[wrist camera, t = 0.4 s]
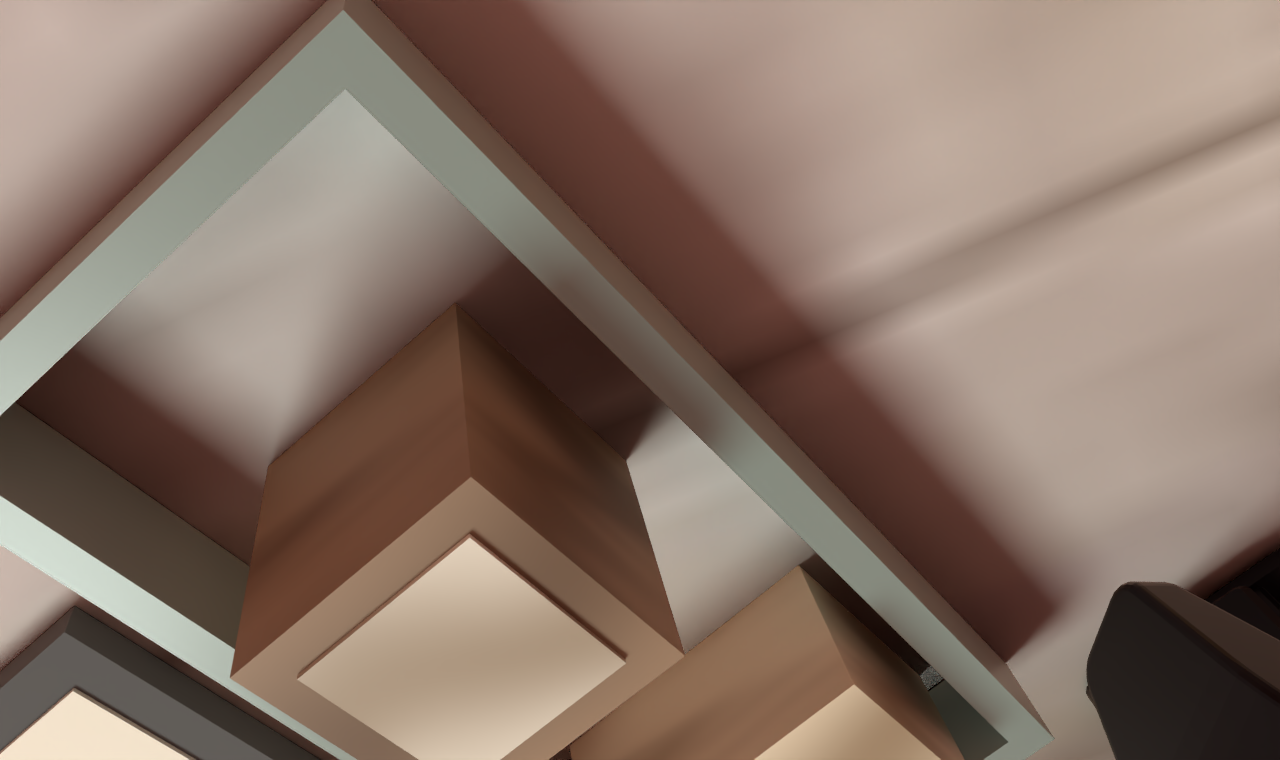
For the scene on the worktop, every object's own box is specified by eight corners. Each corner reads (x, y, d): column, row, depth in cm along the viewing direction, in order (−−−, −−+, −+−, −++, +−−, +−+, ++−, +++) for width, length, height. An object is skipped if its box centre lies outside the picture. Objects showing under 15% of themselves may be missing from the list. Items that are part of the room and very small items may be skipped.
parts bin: (1006, 664, 29) (1054, 739, 27) (676, 898, 31) (696, 985, 29) (350, -22, 19) (342, 9, 17) (-74, 389, 21) (-128, 464, 19)
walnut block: (625, 460, 25) (686, 659, 19) (449, 602, 26) (461, 830, 20) (455, 301, 22) (471, 480, 17) (268, 465, 23) (229, 683, 18)
